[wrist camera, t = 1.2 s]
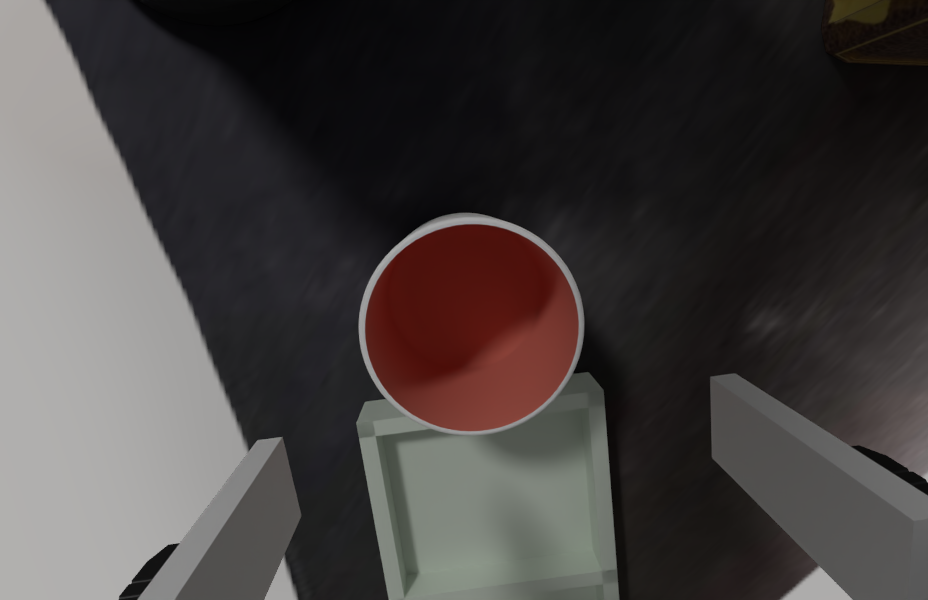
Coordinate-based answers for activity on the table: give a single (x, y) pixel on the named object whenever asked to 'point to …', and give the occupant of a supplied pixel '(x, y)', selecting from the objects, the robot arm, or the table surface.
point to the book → (877, 31)
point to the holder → (495, 504)
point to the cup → (471, 325)
